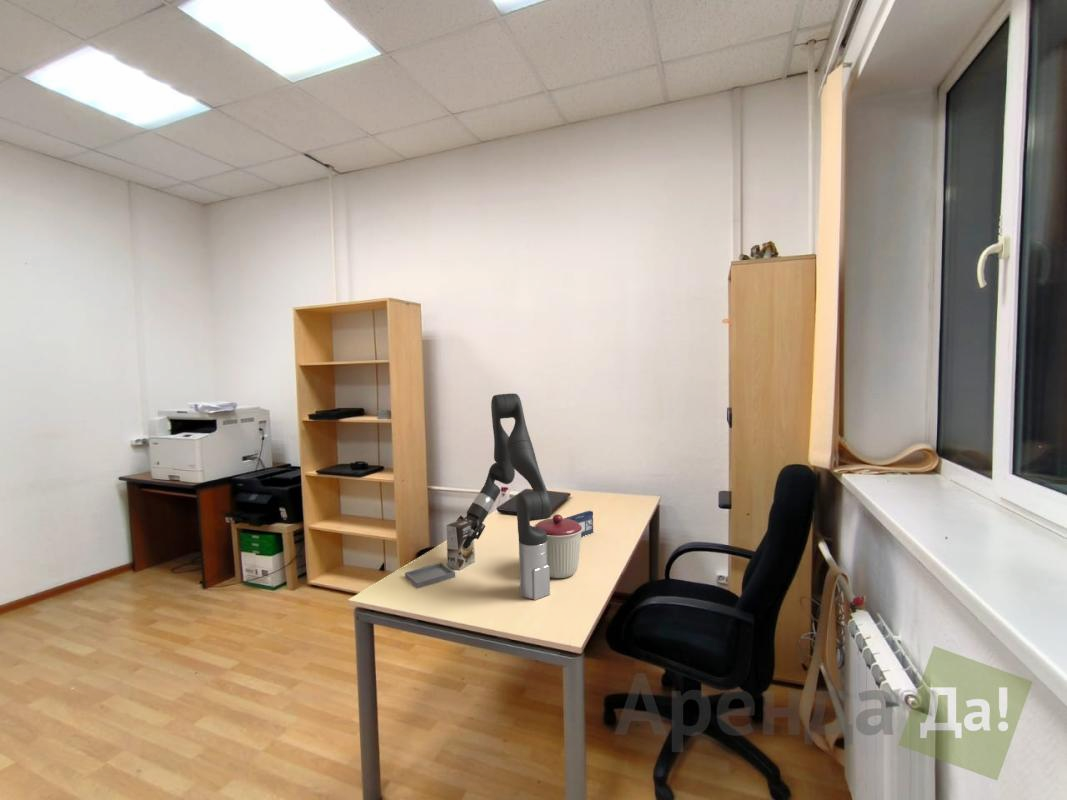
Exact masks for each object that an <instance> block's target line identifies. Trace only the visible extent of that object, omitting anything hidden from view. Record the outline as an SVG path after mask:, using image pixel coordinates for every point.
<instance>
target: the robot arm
mask: <svg viewBox="0 0 1067 800" xmlns="http://www.w3.org/2000/svg"><path fill="white" fill-rule="evenodd" d="M490 407H491V408H490V409H491V422H492V431H493V441H494V445H493V447H494V449H493V461H494V463H493V464H492V465H491V466H490V468H489V470H488V474H487V477H486V479H485V483H484V485H483V486H482V488H481V490H480V492H479V493H478V494H477V496H475V498H474V500H473V501H472V503H471V505H470V506H469V507H468V509H467V511H466V516H465V517H463V515H459V517H458V518H457V519H456V521H458V520H461V519H463V520H470V522H472V521H473V524H472V523H471V526H470V528H469V537H467V539H466V541H465V542H464V544H463V546H464V547H465V548H468V547H469V546H470V544H471V542H472V541H473V540H474V541H475V540H479V539H480V538H481V535H482V533H483V532H484V530H485V528H486V525H485V524H484V521H485V520H486V518H487V516H488V515H489V513H490V512H491V510H492V508H493V506H494V504H495V502H496V500H497V499H498V497H499V495H500V493H501V488H500V487H499V486H498V485H497V484H496V483H495V482H496V481H497V482H499V483H502V484H503V485H509V484H511V483H512V482H514V479H515V475H516V473H515V471H516V472H517V473H518V474H519V475H520V476H522V477H523V479H525V480H526V481H527V483H528V484H529V485H530V487H531V490H532V491H526V492H525V491H524V492H520V493H518V494H517V496H516V500H515V505H516V506H515V508H516V509H515V510H516V518H517V534H518V564H519V565H518V566H519V592H520V593H519V594H520V596H522V597H523V598H525V599H526V598H527V599H533V600H534V601H536V600H538V599H541V598H545V597H548V596H549V595H551V586H550V585H551V584H550V578H551V577H550V574H549V566H548V561H547V533H546V531H544V530H543V529H540V528H536V527H533V526H534V525H533V526H532V525H531V522H533V521H543V520H546V519H550V517H551V515H552V511H553V510H552V501H551V498H550V495H549V492H548V490H547V488H546V484H545V482H544V480H543V476H542V474H541V472H540V468H539V465H538V461H537V457H536V453H535V449H534V446H533V442H532V440H531V436H530V432H529V431H528V428H527V424H526V418H525V415H524V410H523V405H522V400H521V398H520V396H519V395H518V393H500V394H495V395H493V396H492V398H491V402H490ZM511 418H513V419H514V425H513V428H512V430H511V432H510V435H508V433H507V432H506V430H505V429H504V427H503V426H502V422H501V420H502V419H511Z"/></svg>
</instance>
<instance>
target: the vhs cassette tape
mask: <svg viewBox="0 0 1067 800" xmlns="http://www.w3.org/2000/svg"><path fill="white" fill-rule="evenodd" d="M564 519H570V520H574V521H576V522H578V523H579V524H581V525H582V526H583V531H582V532H581V538H584V537H586V536H585V535H587V536H589V535H588V534H590V535H591V533H593V534H594V511H592V510H586V511H584V512H580V513H576V514H573V515H571V516H567V517H565V518H564ZM583 536H584V537H583Z"/></svg>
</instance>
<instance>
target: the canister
mask: <svg viewBox="0 0 1067 800" xmlns="http://www.w3.org/2000/svg"><path fill="white" fill-rule="evenodd" d="M533 527H536V528H540V529H543V530H544V531H546V533H547V561H548V566H549V574H550V578H552V579H565V578H569V577H571V576H573V575H574V574H576V572H577V571H578V567H579V562H580V551H581V541H582V537H581V532H582V531H583V526H582V525H581V524H579V523H578V522H576V521H574V520H570V519H564V518H563V515H561V514H554V515H553V516H552V518H547V519H542V520H539V522H537V523H535V524H534V525H533Z"/></svg>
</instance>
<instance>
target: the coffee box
mask: <svg viewBox="0 0 1067 800" xmlns="http://www.w3.org/2000/svg"><path fill="white" fill-rule="evenodd" d="M471 523H472V524H473V521H472V522H470V520H463V519H461V520H458V521H457V520H455V521H454V522H451V523H448V524H446V558H447V559H446V561H447V565H446V566H447V567H449V568H450V569H452V570H453V569H454V570H457V571H461V570H463V569H465V568H466V567H468V566H470V565H472V564H474V563H475V562H476V556H475V555H476V553H475V551H476V550H475V539H474V540H473V541H472V542H471V544H470V546H469V547H468V548H465V547H464V546H463V544H464V542H465V541H466V539H467V537H469V528H470V526H471Z"/></svg>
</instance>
